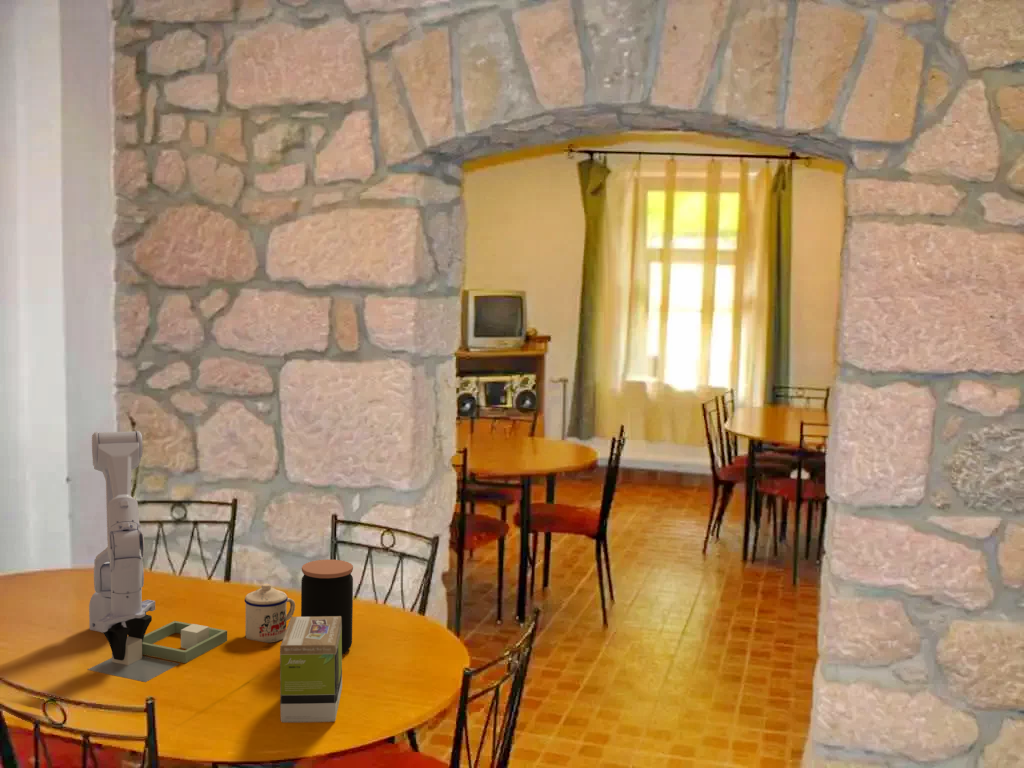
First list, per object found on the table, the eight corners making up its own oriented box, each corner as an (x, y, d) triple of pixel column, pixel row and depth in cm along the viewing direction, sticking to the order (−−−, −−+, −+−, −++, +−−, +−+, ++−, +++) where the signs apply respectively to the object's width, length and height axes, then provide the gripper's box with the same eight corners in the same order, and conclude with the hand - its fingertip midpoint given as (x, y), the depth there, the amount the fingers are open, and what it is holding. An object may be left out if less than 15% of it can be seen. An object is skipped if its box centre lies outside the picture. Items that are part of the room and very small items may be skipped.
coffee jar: (361, 645, 220) (363, 564, 217) (332, 662, 210) (334, 577, 208) (320, 636, 224) (321, 556, 222) (290, 652, 214) (291, 569, 212)
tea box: (290, 688, 197) (290, 614, 195) (342, 688, 197) (344, 614, 196) (278, 723, 182) (279, 643, 180) (336, 723, 183) (337, 643, 181)
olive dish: (130, 655, 210) (130, 641, 210) (174, 634, 223) (174, 620, 222) (185, 666, 205) (185, 652, 205) (227, 644, 218) (227, 630, 217)
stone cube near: (112, 661, 204) (111, 642, 204) (126, 654, 208) (125, 636, 208) (128, 665, 203) (127, 645, 203) (142, 658, 207) (141, 639, 206)
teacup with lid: (260, 647, 217) (261, 594, 215) (235, 636, 223) (236, 584, 221) (306, 633, 226) (307, 582, 224) (281, 623, 232) (281, 573, 230)
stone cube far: (180, 648, 213) (180, 629, 213) (193, 642, 217) (193, 623, 216) (196, 651, 212) (196, 632, 211) (209, 645, 215) (208, 626, 215)
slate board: (87, 673, 200) (87, 669, 200) (123, 655, 210) (123, 652, 210) (145, 685, 195) (145, 681, 195) (179, 667, 205) (179, 663, 205)
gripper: (116, 603, 196) (117, 671, 197) (167, 582, 209) (167, 646, 211) (87, 597, 198) (88, 665, 200) (139, 577, 212) (139, 640, 213)
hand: (127, 655), depth 205 cm, fingers closed on stone cube near, 4 cm apart
